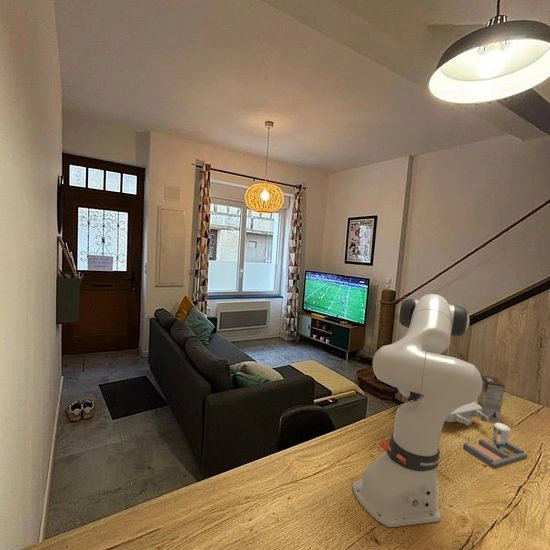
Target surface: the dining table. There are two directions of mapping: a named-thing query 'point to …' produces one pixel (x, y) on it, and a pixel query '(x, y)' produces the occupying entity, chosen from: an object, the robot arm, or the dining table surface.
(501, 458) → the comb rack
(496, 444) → the milkshake
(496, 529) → the dining table surface
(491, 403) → the coffee box
